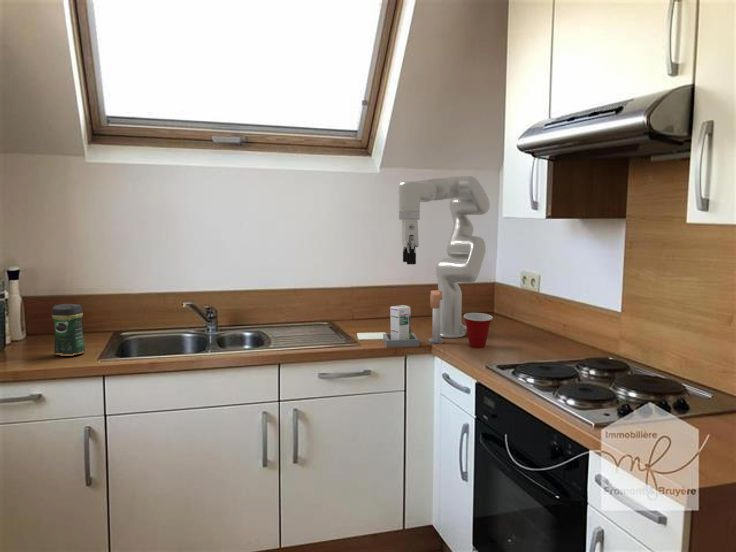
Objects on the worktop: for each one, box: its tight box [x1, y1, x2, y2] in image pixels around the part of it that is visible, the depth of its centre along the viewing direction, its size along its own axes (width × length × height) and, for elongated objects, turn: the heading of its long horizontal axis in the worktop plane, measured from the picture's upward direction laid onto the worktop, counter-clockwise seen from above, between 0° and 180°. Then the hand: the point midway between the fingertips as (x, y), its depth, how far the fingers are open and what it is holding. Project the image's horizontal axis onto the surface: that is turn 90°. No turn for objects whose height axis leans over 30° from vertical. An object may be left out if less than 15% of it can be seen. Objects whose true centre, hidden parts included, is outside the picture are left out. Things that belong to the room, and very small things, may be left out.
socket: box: [382, 301, 445, 348], centre depth 226 cm, size 23×12×16 cm, turn 94°
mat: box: [356, 331, 387, 341], centre depth 239 cm, size 12×12×1 cm
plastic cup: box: [463, 312, 494, 349], centre depth 219 cm, size 11×11×12 cm
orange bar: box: [429, 289, 442, 309], centre depth 216 cm, size 25×4×5 cm, turn 172°
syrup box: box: [389, 304, 412, 340], centre depth 226 cm, size 6×6×14 cm
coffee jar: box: [51, 303, 86, 354], centre depth 210 cm, size 10×8×19 cm
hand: (409, 263), depth 213 cm, fingers open, 9 cm apart
